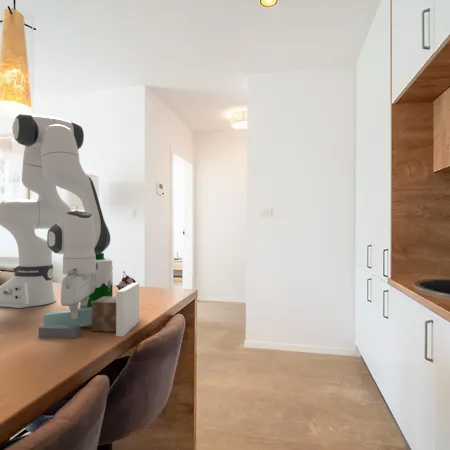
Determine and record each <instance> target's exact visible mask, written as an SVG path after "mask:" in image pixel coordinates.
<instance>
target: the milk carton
mask: <svg viewBox="0 0 450 450" xmlns="http://www.w3.org/2000/svg"><path fill="white" fill-rule="evenodd" d="M95 255H96V262H97V263H98V270H96V286H95V291H94V293H92V294H91V295H89V296H88V303H87V308H89V307H92V302H94V301H95V300H97V299H99V298H101V297H103V296H109V297H113V286H114V285H113V278H114V277H113V273H114V272H113V268H114V267H113V260H112V259H110V258H105V253H104V252H102V253H100V254H95Z"/></svg>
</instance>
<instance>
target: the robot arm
mask: <svg viewBox="0 0 450 450" xmlns="http://www.w3.org/2000/svg"><path fill="white" fill-rule="evenodd" d="M12 135H13V137H14V140H15V141H16V142H17V143H18V144H19V145H22V146H25V147H24V151H23V159H22V170H21V172H22V173H21V182H22V184H23V186H24V187H25V188H26V189H28V190H30V191H31V192H33V193H35V194H37V195H38V199H22V198H21V199H19V198H16V199H8V200H3V201H1V202H0V226H1V227H2V228H4V229H6V230H7V231H8V232H9V233H10V234H11V235H12V236H13V238H14V240H15V242H16V244H17V251H18V266H16V267H13V268H12V270H11V272H12V273H13V272H14V274H13V275H14V276H12V277H10V278H9V279H8V280H6V282H4V283H3V284H1V285H0V307H5V308H13V309H14V308H16V309H24V308H28V307H29V308H30V307H37V306H42V305H43V306H44V305H49V304H53V303H55V302H56V301H57V298H56V295H55V291H54V282H53V278H54V264H53V263H52V261H53V253H54V254H58V255H63V256H62V274H63V275H65V277H63V279H62V281H61V288H60V289H61V290H60V291H61V292H60V304H61V306H62V307H69V310H70V311H71V318H72V319H76V318H78V317H79V311H78V309H80V308H87V303H88V296H89V295H91V294H92V293H94V291H95V286H96V270H98V263H97V262H96V255H95V254H100V253H104V251H105V250H106V249H107V248H109V246H110V244H111V234H110V231H109V228H108V225H107V224H106V221H105V218H104V215H103V212H102V208H101V204H100V201H99V198H98V195H97V190H96V187H95V184H94V182H93V180H92V178H91V177H90V176H88V175H87V174H86V172H85V170H84V169H83V167H82V164H81V162H80V155H79V149H81V147H82V146H83V143H84V140H85V138H84V137H85V136H84V135H85V133H84V130H83V127H82V125H81V124H79V123H77V122H75V121H73V120H66V119H64V118H63V119H62V118H60V117H55V116H46V115H38V114H31V113H20V114H18V115H17V116H15V119H14V121H13V124H12ZM57 187H58V188H60V189H63V190H66V191H67V192H70V193H72V194H74V195H75V196H76V197H78V198H79V200H80V201H81V203H82V205H83V209H84V211H77V210H75V211H72V208H71V207H70V205H69V204H67V202H65V200H63V199H62V198H61V196H60V195H59V192H58V190H57V189H58V188H57ZM41 229H43V230H44V229H45V230H47V229H48V230H47V236H46V237H47V239H44V238H42V237H39V236H38V235H37V234H36V231H35V230H41Z"/></svg>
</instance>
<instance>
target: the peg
mask: <svg viewBox="0 0 450 450" xmlns="http://www.w3.org/2000/svg"><path fill="white" fill-rule="evenodd" d="M78 311H79V317H78V318H76V319H72V318H71V311H70V309H64V310H54V311H49V312H47V313H45V314H42V315H43V316H42V319H43V325H81V326H85V325H92V307H89V308H80V309H79V308H78Z"/></svg>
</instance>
